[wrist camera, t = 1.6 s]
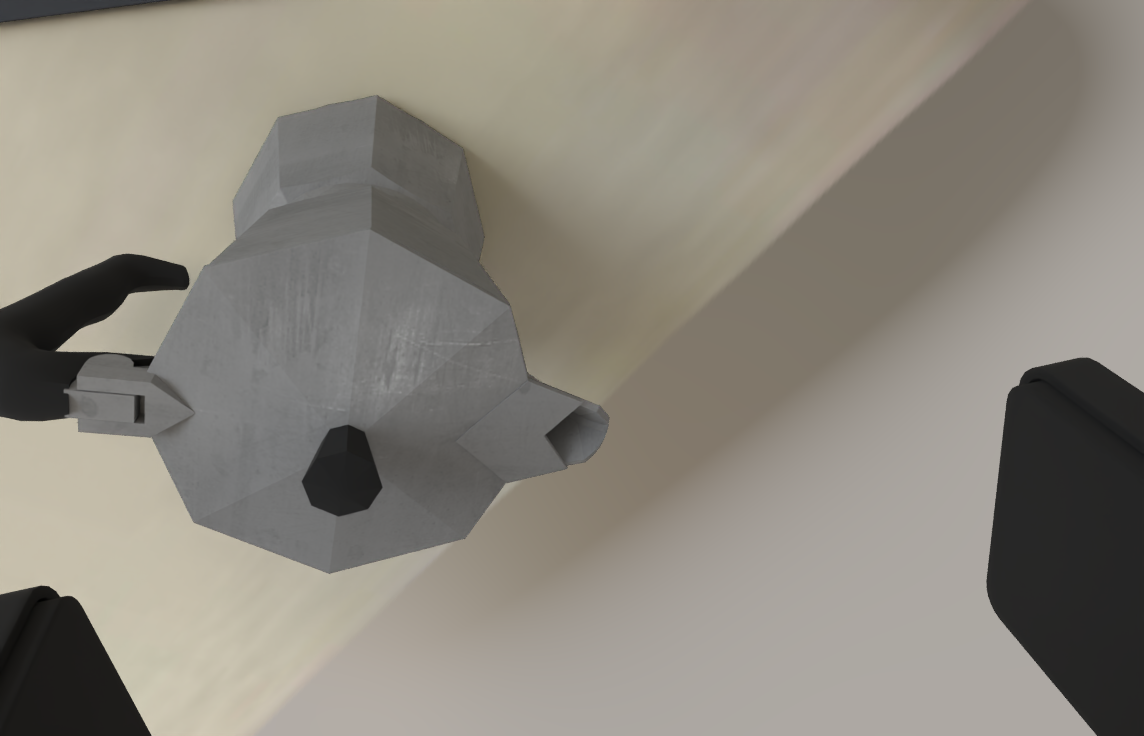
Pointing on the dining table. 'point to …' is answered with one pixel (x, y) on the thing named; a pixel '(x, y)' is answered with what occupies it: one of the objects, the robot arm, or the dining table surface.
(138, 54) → the dining table surface
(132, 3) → the mat
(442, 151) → the coffeepot
